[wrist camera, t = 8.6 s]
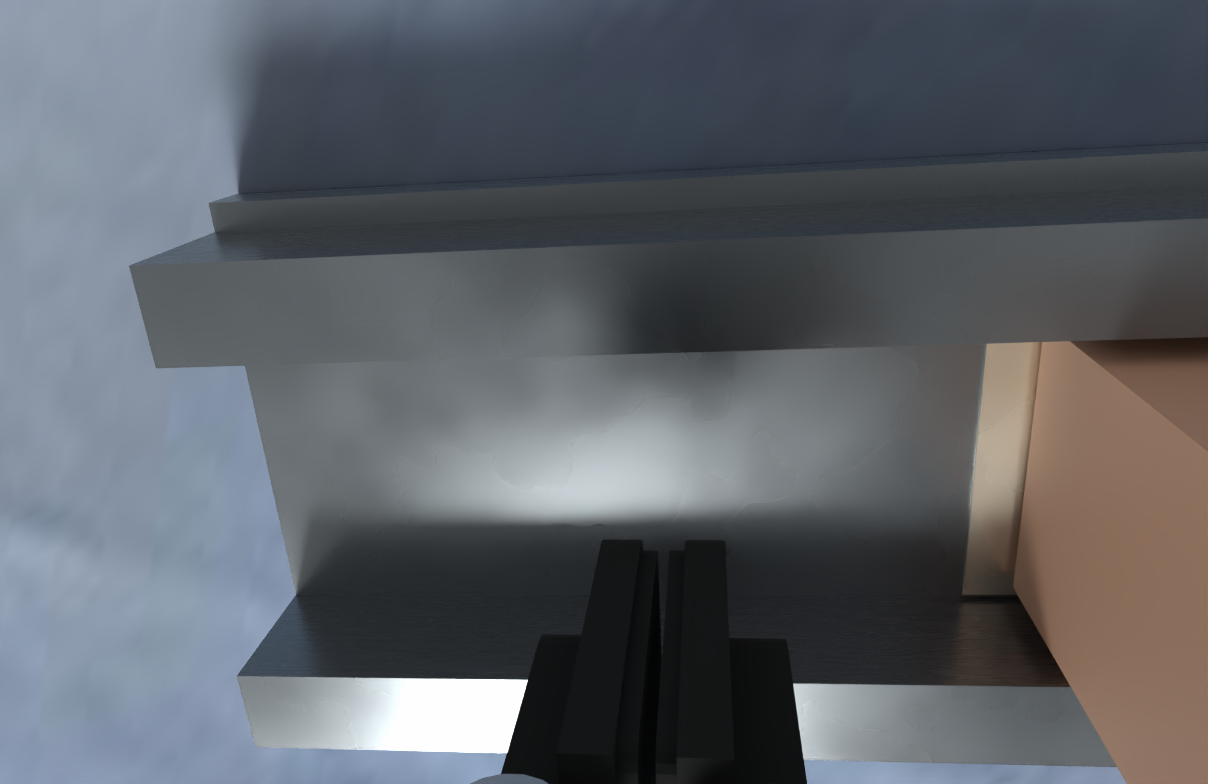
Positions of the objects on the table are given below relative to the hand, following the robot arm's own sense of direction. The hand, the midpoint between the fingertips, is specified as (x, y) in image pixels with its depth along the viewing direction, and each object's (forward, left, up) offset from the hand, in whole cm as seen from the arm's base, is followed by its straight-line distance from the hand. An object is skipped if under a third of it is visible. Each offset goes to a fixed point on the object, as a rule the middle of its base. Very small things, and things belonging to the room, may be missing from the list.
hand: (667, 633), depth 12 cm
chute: (-3, 0, -6) cm, 6 cm away
